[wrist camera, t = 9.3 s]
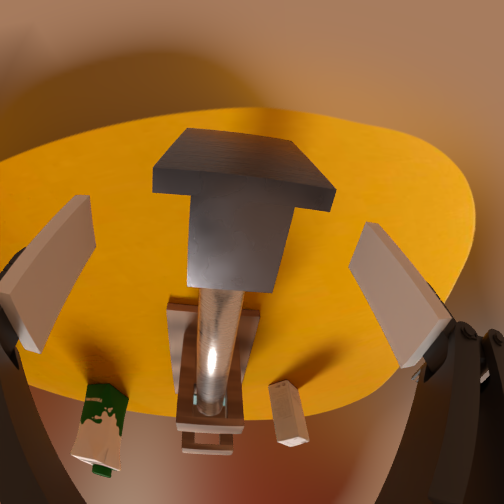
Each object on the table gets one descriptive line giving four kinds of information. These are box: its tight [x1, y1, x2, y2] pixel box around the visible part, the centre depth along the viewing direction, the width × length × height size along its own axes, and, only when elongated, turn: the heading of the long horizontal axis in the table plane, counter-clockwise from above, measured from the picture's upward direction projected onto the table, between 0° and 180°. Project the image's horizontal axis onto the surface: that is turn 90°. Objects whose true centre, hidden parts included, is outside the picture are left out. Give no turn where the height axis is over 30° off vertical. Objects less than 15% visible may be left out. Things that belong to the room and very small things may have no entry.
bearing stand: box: [167, 303, 260, 455], centre depth 36 cm, size 24×12×15 cm, turn 171°
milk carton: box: [71, 384, 129, 478], centre depth 41 cm, size 9×9×20 cm
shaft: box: [152, 128, 336, 416], centre depth 22 cm, size 30×7×9 cm, turn 171°
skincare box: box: [268, 380, 309, 447], centre depth 45 cm, size 6×4×12 cm
